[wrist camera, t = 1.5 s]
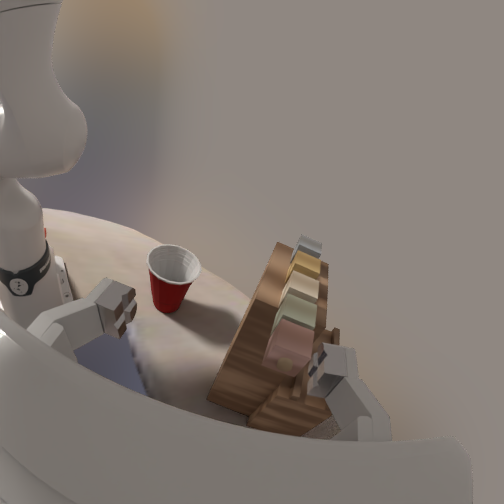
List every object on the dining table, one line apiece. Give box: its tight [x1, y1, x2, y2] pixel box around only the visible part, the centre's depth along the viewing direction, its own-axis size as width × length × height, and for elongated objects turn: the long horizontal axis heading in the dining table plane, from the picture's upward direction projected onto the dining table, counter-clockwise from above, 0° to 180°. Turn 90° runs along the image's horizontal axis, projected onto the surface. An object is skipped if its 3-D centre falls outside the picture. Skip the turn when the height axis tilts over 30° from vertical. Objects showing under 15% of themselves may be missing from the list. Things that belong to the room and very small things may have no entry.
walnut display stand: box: [206, 242, 340, 437], centre depth 39 cm, size 16×17×26 cm
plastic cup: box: [147, 244, 202, 313], centre depth 53 cm, size 11×11×12 cm
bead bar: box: [262, 234, 322, 377], centre depth 28 cm, size 20×3×3 cm, turn 165°
